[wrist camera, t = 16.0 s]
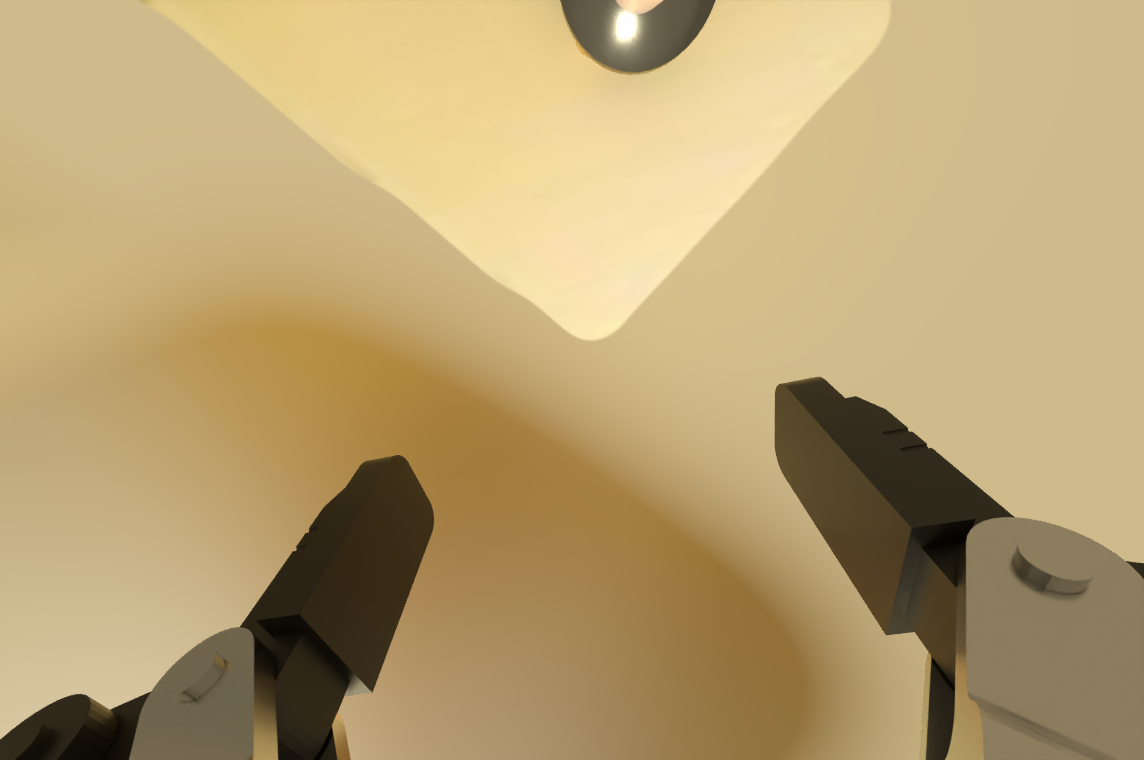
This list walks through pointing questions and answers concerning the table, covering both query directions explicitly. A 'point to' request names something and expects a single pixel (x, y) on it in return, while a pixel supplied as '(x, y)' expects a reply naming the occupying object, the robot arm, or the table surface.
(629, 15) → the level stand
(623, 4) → the smoothie
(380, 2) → the table surface
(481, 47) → the table surface
